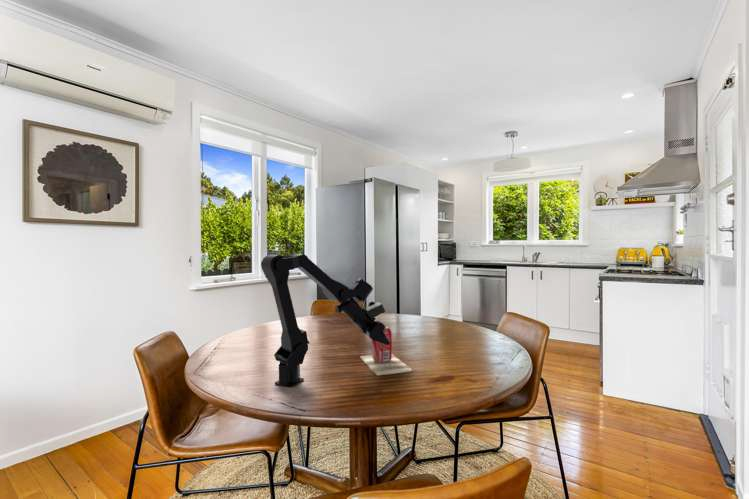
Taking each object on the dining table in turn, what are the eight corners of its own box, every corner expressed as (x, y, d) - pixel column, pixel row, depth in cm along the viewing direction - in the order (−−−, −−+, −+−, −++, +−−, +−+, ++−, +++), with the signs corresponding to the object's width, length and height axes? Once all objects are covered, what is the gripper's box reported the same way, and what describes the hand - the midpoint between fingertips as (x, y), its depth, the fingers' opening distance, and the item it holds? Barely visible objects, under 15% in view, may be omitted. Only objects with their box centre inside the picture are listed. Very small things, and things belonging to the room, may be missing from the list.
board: (411, 371, 123) (411, 369, 123) (377, 375, 119) (377, 373, 119) (390, 354, 142) (390, 353, 142) (360, 357, 138) (360, 356, 138)
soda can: (380, 356, 138) (380, 323, 138) (395, 360, 133) (395, 326, 133) (367, 361, 132) (367, 327, 132) (383, 365, 128) (383, 329, 128)
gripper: (379, 298, 123) (410, 329, 126) (363, 292, 140) (391, 319, 144) (356, 324, 120) (388, 355, 124) (343, 314, 138) (371, 341, 141)
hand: (385, 341), depth 133 cm, fingers closed on soda can, 7 cm apart
